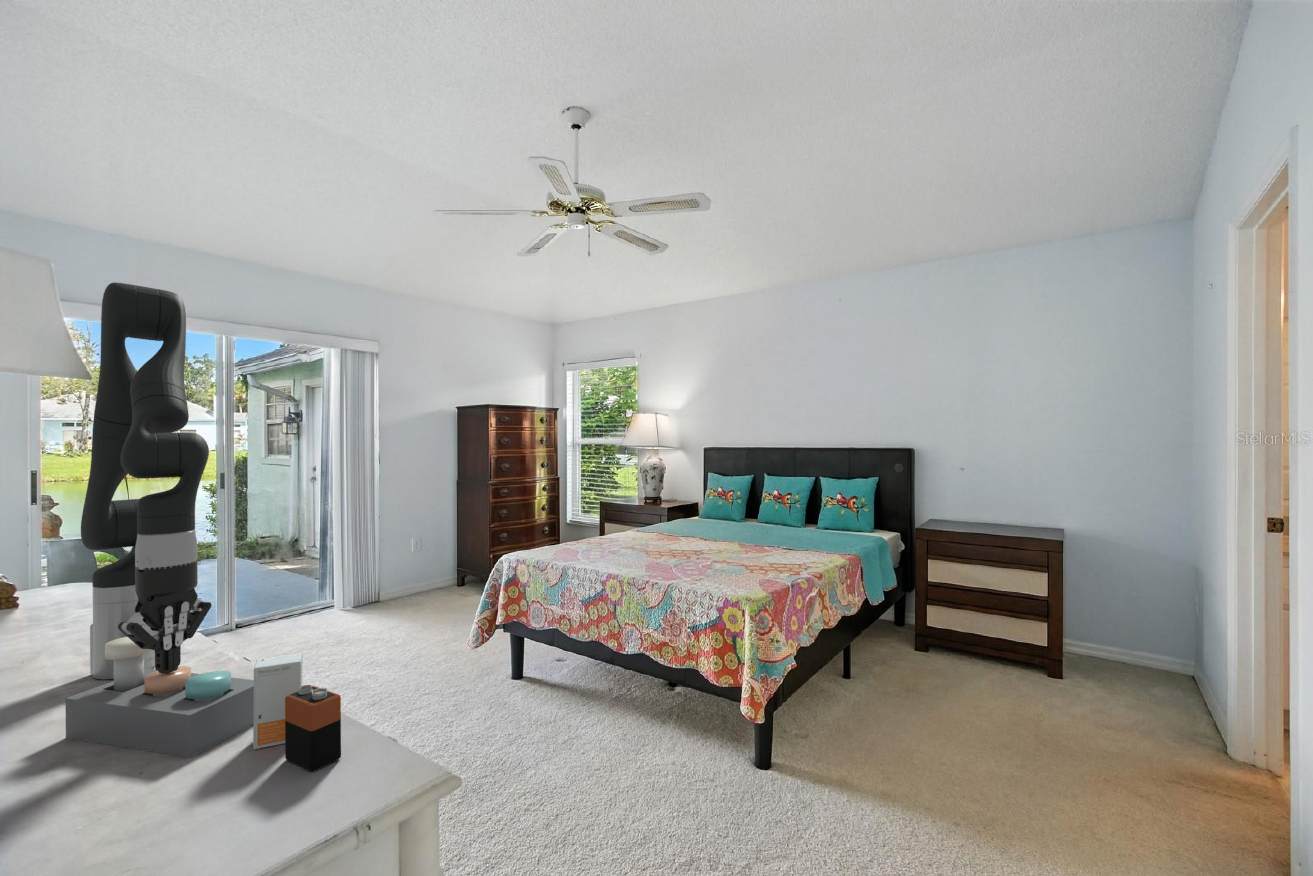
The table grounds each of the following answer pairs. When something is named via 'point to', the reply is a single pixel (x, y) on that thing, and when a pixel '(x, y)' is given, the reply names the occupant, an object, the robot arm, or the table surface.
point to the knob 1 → (126, 663)
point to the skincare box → (274, 696)
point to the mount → (159, 718)
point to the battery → (312, 727)
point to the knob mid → (166, 681)
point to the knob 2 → (208, 685)
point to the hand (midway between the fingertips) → (167, 671)
